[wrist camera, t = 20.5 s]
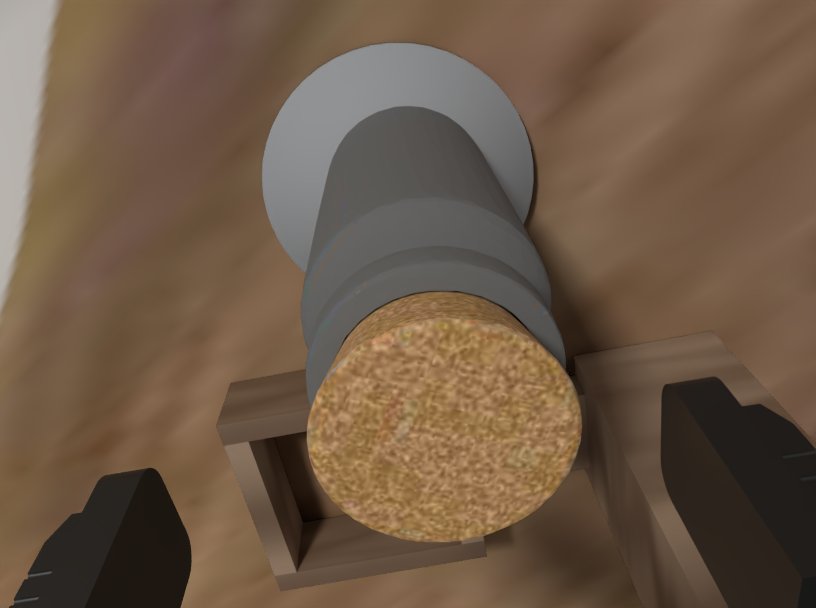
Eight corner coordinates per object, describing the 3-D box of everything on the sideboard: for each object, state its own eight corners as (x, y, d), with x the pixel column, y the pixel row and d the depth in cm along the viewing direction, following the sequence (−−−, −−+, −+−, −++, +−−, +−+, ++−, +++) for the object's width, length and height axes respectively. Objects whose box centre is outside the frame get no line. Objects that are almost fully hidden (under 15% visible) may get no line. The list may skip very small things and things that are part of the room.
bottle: (425, 284, 27) (478, 608, 13) (297, 205, 25) (209, 484, 11) (518, 164, 25) (691, 402, 11) (385, 69, 23) (402, 215, 9)
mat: (229, 73, 23) (226, 75, 23) (515, 15, 23) (518, 16, 22) (302, 322, 28) (301, 328, 27) (542, 278, 27) (545, 283, 27)
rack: (230, 383, 29) (52, 908, 13) (713, 295, 28) (1169, 740, 12) (288, 540, 33) (208, 1081, 17) (708, 468, 32) (1038, 966, 16)
